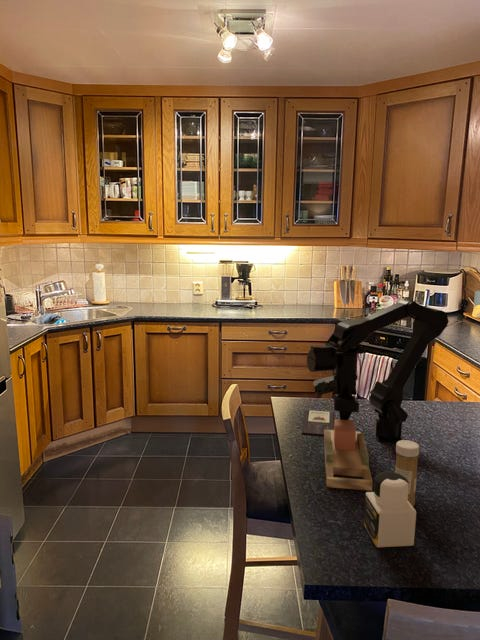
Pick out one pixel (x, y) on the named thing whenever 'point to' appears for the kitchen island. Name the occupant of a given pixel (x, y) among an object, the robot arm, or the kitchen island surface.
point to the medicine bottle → (390, 511)
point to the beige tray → (347, 464)
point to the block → (344, 435)
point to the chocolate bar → (317, 422)
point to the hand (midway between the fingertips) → (343, 424)
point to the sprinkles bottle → (407, 465)
